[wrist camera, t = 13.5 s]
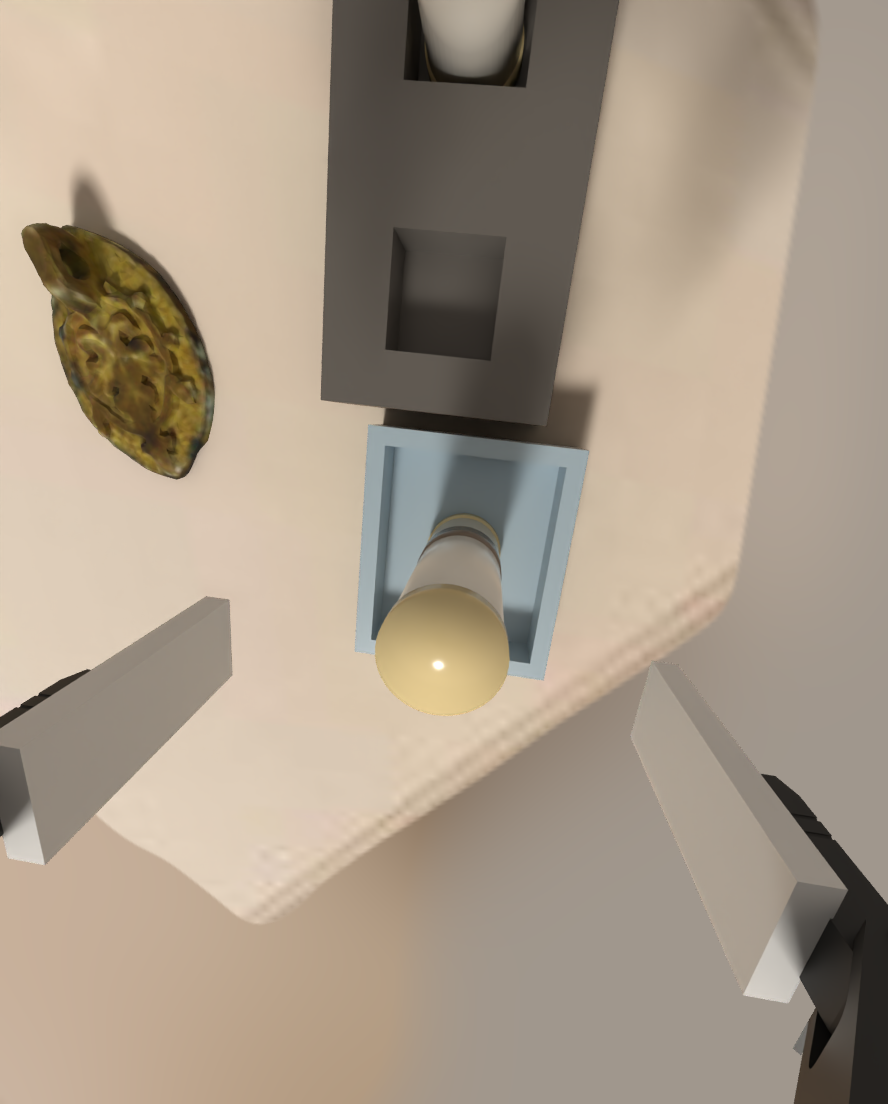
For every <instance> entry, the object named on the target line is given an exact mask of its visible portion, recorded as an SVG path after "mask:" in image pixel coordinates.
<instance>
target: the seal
mask: <svg viewBox="0 0 888 1104" xmlns="http://www.w3.org/2000/svg"><path fill="white" fill-rule="evenodd" d="M21 235H22V238H23V244H24V248H25V250H26V252H27V253H28V255H29V257H30V259H31V260H32V262H33V264H34V266H35V268H36V270H37V273H38V275H39V276H40V278H41V280H42V282H43V285H44V286H45V287H46V288H47V290H48V291H49V292H50V293H51V294H52V299H51V306H52V310H53V314H52V318H53V328H54V339H55V344H56V347H57V351H58V353H59V356H60V360H61V364H62V366H63V369H64V372H65V375H66V377H67V380H68V384H69V385H70V387H71V388H72V390H73V391H74V393H75V395H76V397H77V399H78V401H79V404H80V406H81V408H82V411H83V412H84V414H85V415H86V416H87V418H88V419H89V420H90V422H91V423H92V424H93V425H94V427H95V428H96V429H97V430H98V432H99V434H100V435H101V436H102V437H105V438H107V439H108V440H109V441H110V442H111V443H112V444H113V446H115V447H116V448H118V449H119V450H120V451H122V452H123V453H125V454H126V455H128V456H129V457H130V458H131V459H133V460H134V461H136V462H137V463H139V464H140V465H141V466H143V467H145V468H146V469H148V470H150V471H152V472H155V473H157V474H160V475H163V476H166V477H170V478H173V479H180V478H183V477H185V476H186V475H187V474H188V473H189V471H190V468H191V466H192V464H193V462H194V460H195V458H196V454H197V453H198V452H199V450H200V449H201V448H202V447H203V446H204V445H205V443H206V442H207V441H208V438H209V434H210V430H211V426H212V421H213V414H214V386H213V381H212V377H211V373H210V369H209V366H208V362H207V358H206V355H205V351H204V348H203V346H202V343H201V340H200V338H199V336H198V334H197V331H196V329H195V327H194V325H193V324H192V322H191V320H190V319H189V317H188V315H187V313H186V312H185V310H184V308H183V306H182V304H181V303H180V301H179V299H178V298H177V296H176V295H175V294H174V293H173V291H172V290H171V289H170V287H169V286H168V285H167V283H166V282H165V281H164V279H163V278H162V276H161V275H160V274H159V273H158V272H157V271H156V270H155V269H154V268H152V267H151V266H150V265H149V264H148V263H147V262H145V261H144V260H143V259H142V258H140V257H139V256H137V255H136V254H134V253H133V252H132V251H130V250H128V249H126V248H125V247H123V246H121V245H120V244H118V243H116V242H114V241H111V240H109V239H107V238H105V237H102V236H100V235H97V234H95V233H92V232H89V231H86V230H83V229H80V228H77V227H74V226H69V225H65V226H62V228H59V227H57V226H51V225H49V224H47V223H36V224H32V225H29V226H26V227H25V228H24V229H23V230H22V233H21Z"/></svg>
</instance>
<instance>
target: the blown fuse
mask: <svg viewBox="0 0 888 1104" xmlns="http://www.w3.org/2000/svg"><path fill="white" fill-rule="evenodd" d="M500 554H501V551H500V542H499V538H498V535H497V533H496V531H495V530H494V528H493V527H492V526H491V524H490V523H488V522H487V521H486V520H485V519H483V518H481V517H479V516H477V515H474V514H469V513H458V514H454V515H451V516H448V517H446V518H445V519H443V520H442V521H441V522H439V523H438V524H437V525H436V527H435V528H434V530H433V531H432V533H431V535H430V537H429V539H428V542H427V544H426V546H425V548H424V550H423V552H422V554H421V555H420V558H419V560H418V562H417V565H416V567H415V569H414V571H413V573H412V575H411V577H410V579H409V580H408V582H407V584H406V586H405V588H404V590H403V592H402V594H401V596H400V598H399V600H398V601H397V602H396V603H395V604H394V606H393V607H392V608H391V610H390V611H389V613H388V615H387V616H386V618H385V620H384V622H383V624H382V626H381V628H380V630H379V632H378V635H377V639H376V644H375V659H376V664H377V668H378V671H379V674H380V676H381V678H382V680H383V681H384V683H385V685H386V686H387V687H388V689H389V690H390V691H391V692H392V693H393V694H394V695H395V696H396V697H397V698H398V699H399V700H401V701H402V702H403V703H405V704H406V705H408V706H410V707H412V708H414V709H416V710H418V711H421V712H424V713H428V714H432V715H440V716H452V715H460V714H464V713H468V712H470V711H473V710H475V709H477V708H479V707H481V706H483V705H484V704H486V703H487V702H488V701H490V700H491V699H492V698H493V697H494V696H495V695H496V693H497V692H498V691H499V690H500V688H501V687H502V685H503V683H504V681H505V679H506V676H507V673H508V669H509V660H510V658H509V644H508V635H507V630H506V627H505V625H504V615H503V601H502V587H501V579H502V574H501V561H500Z"/></svg>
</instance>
